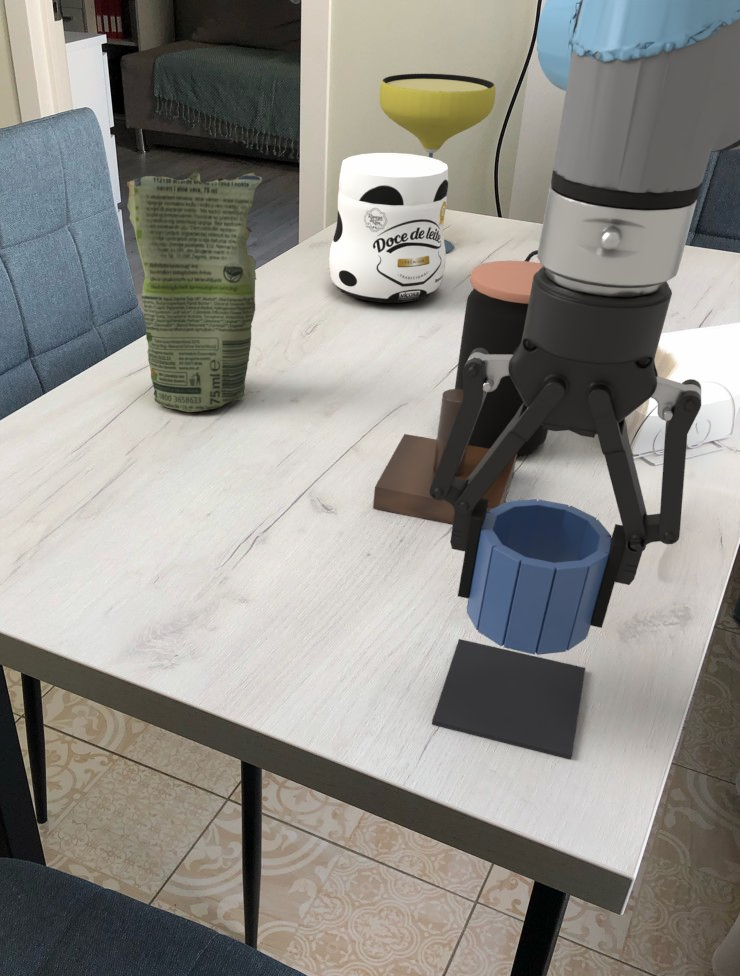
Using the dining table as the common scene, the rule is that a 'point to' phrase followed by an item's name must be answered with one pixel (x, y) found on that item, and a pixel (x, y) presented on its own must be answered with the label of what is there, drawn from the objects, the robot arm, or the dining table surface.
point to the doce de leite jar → (390, 227)
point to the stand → (432, 471)
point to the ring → (537, 575)
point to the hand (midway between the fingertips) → (531, 600)
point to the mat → (511, 698)
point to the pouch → (196, 286)
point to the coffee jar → (498, 342)
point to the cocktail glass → (436, 106)
